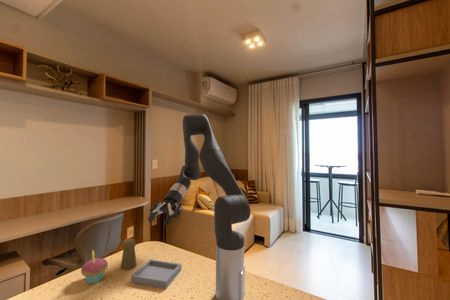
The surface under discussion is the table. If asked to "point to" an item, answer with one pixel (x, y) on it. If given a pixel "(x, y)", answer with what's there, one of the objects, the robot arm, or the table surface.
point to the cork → (128, 254)
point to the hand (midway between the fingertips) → (157, 223)
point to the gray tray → (156, 273)
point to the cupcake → (94, 269)
